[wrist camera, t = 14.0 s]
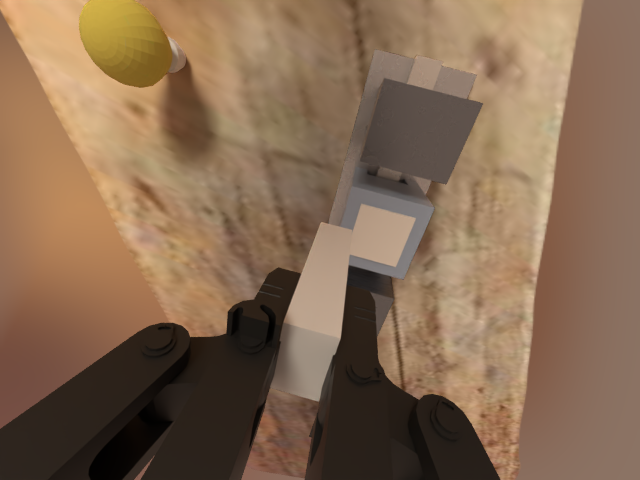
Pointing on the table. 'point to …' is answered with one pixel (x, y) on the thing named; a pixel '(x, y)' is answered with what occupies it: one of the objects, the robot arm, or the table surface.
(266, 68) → the table surface
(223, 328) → the table surface
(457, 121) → the grey block holder
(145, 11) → the light bulb
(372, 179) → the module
